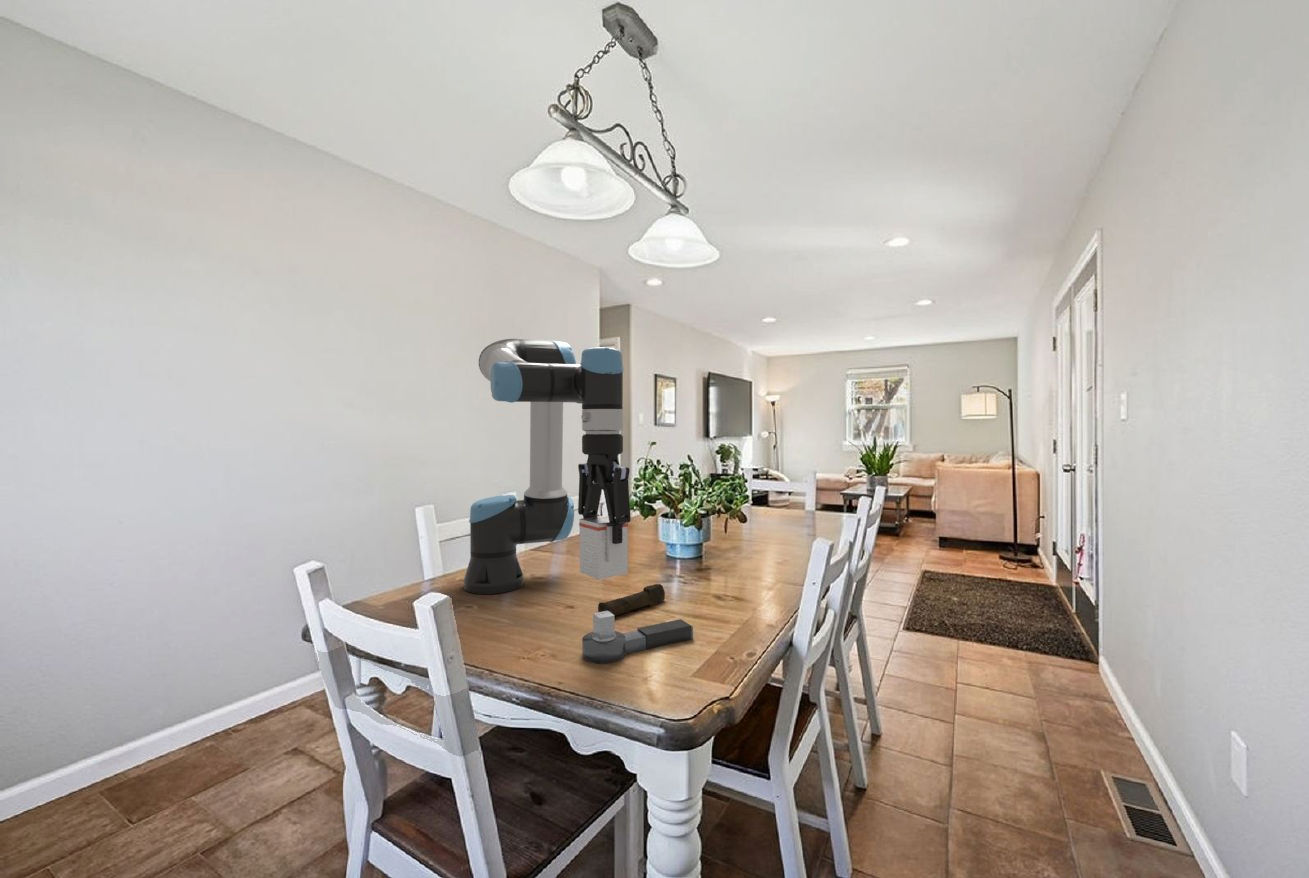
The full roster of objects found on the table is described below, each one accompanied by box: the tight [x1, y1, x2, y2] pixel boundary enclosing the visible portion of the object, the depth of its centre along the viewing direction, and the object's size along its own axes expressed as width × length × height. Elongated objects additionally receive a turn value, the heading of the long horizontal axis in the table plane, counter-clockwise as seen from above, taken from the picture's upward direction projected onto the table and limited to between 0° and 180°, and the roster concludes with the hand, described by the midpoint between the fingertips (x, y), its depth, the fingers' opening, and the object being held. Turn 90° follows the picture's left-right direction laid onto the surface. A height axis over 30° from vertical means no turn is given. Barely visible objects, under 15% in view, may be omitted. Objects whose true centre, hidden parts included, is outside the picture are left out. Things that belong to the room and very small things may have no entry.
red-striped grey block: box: [578, 514, 629, 580], centre depth 103 cm, size 6×6×10 cm
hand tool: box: [597, 583, 666, 617], centre depth 127 cm, size 19×4×5 cm, turn 131°
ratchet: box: [581, 611, 694, 664], centre depth 107 cm, size 22×8×8 cm, turn 119°
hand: (603, 556), depth 103 cm, fingers closed on red-striped grey block, 6 cm apart
